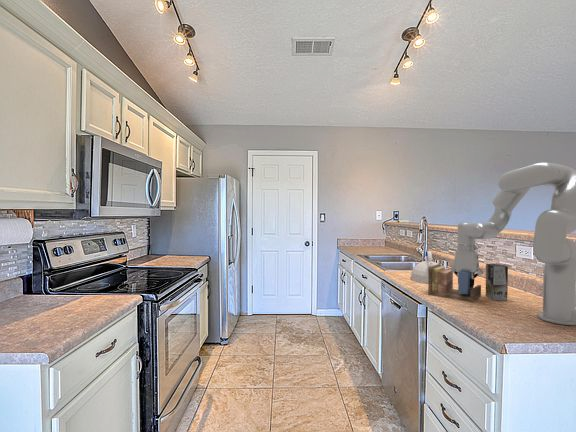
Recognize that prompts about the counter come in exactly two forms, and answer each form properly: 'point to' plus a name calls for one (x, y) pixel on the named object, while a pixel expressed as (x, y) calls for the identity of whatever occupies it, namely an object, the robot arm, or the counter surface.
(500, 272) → the coffee box
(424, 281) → the kettle
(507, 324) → the counter surface
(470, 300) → the book rack
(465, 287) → the navy book
